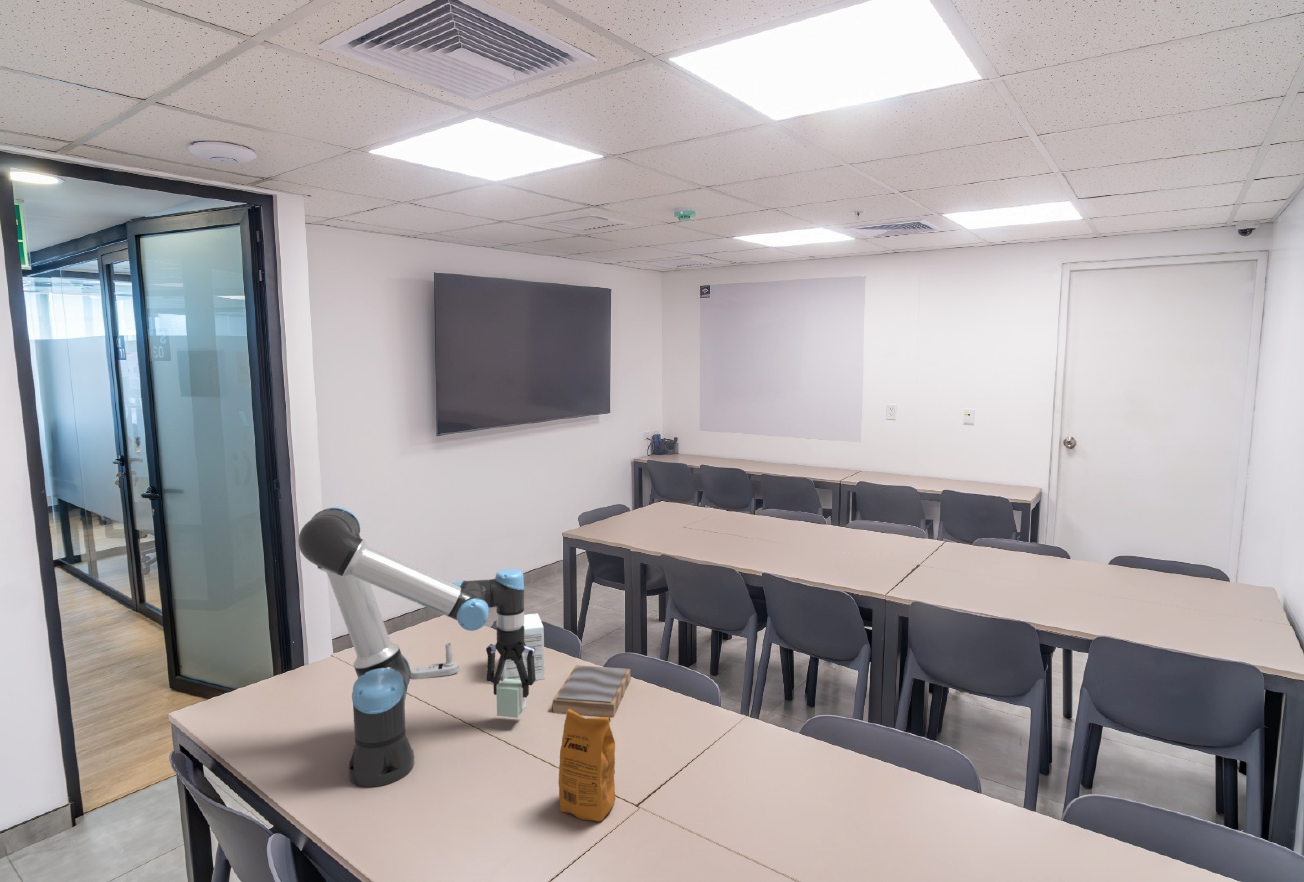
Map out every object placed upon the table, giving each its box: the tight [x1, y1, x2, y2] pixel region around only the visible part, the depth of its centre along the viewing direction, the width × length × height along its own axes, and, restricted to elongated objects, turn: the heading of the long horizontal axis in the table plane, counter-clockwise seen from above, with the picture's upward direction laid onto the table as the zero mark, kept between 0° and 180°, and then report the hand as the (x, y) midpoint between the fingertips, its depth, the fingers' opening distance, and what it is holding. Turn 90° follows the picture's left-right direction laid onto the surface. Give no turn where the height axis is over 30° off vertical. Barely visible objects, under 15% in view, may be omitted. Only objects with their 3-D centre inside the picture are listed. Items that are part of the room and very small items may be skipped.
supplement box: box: [501, 613, 545, 681], centre depth 220 cm, size 13×13×18 cm
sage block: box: [496, 678, 526, 719], centre depth 188 cm, size 6×6×8 cm
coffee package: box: [558, 709, 616, 822], centre depth 151 cm, size 10×12×22 cm
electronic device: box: [410, 642, 460, 680], centre depth 220 cm, size 5×10×15 cm
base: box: [552, 664, 632, 718], centre depth 205 cm, size 24×18×4 cm
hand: (511, 706), depth 188 cm, fingers closed on sage block, 6 cm apart
